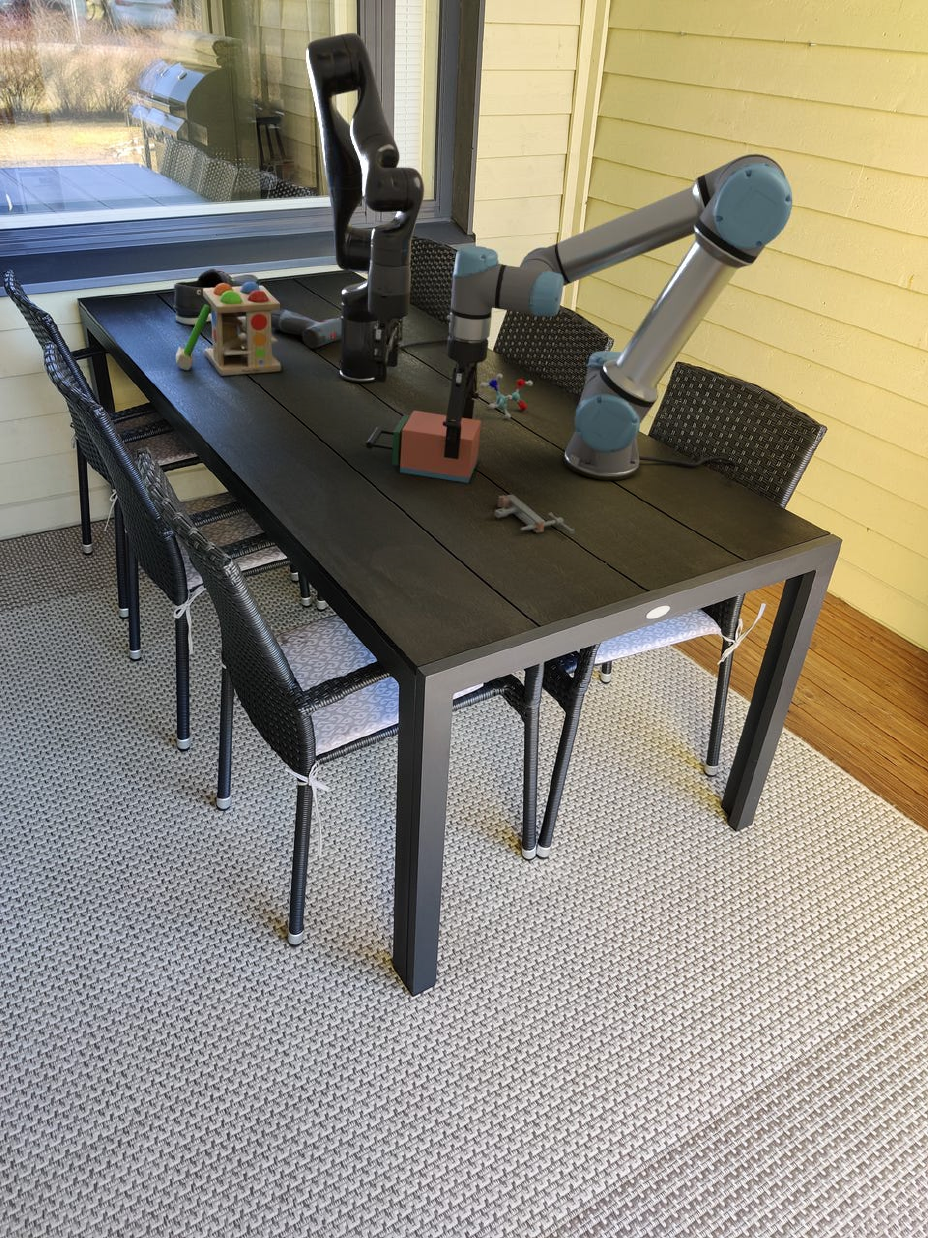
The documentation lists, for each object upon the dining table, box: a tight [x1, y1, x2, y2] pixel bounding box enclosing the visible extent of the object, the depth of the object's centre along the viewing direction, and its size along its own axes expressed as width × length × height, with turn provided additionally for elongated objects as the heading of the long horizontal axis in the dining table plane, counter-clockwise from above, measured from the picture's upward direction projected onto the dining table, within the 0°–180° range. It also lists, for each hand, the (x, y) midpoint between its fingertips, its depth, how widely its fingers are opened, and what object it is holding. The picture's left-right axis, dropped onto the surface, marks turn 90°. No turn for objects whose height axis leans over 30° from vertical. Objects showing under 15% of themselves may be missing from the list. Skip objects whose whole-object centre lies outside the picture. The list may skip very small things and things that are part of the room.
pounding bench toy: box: [174, 282, 282, 377], centre depth 225 cm, size 23×14×18 cm, turn 116°
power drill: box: [271, 308, 341, 349], centre depth 252 cm, size 5×19×20 cm
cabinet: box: [399, 410, 482, 484], centre depth 192 cm, size 14×10×9 cm
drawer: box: [365, 414, 411, 467], centre depth 193 cm, size 18×9×7 cm, turn 80°
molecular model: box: [480, 373, 533, 420], centre depth 219 cm, size 12×10×10 cm
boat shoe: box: [173, 268, 262, 325], centre depth 261 cm, size 13×33×10 cm, turn 147°
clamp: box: [494, 494, 575, 535], centre depth 178 cm, size 15×2×10 cm
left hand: (385, 373), depth 186 cm, fingers open, 8 cm apart
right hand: (457, 443), depth 191 cm, fingers open, 13 cm apart
